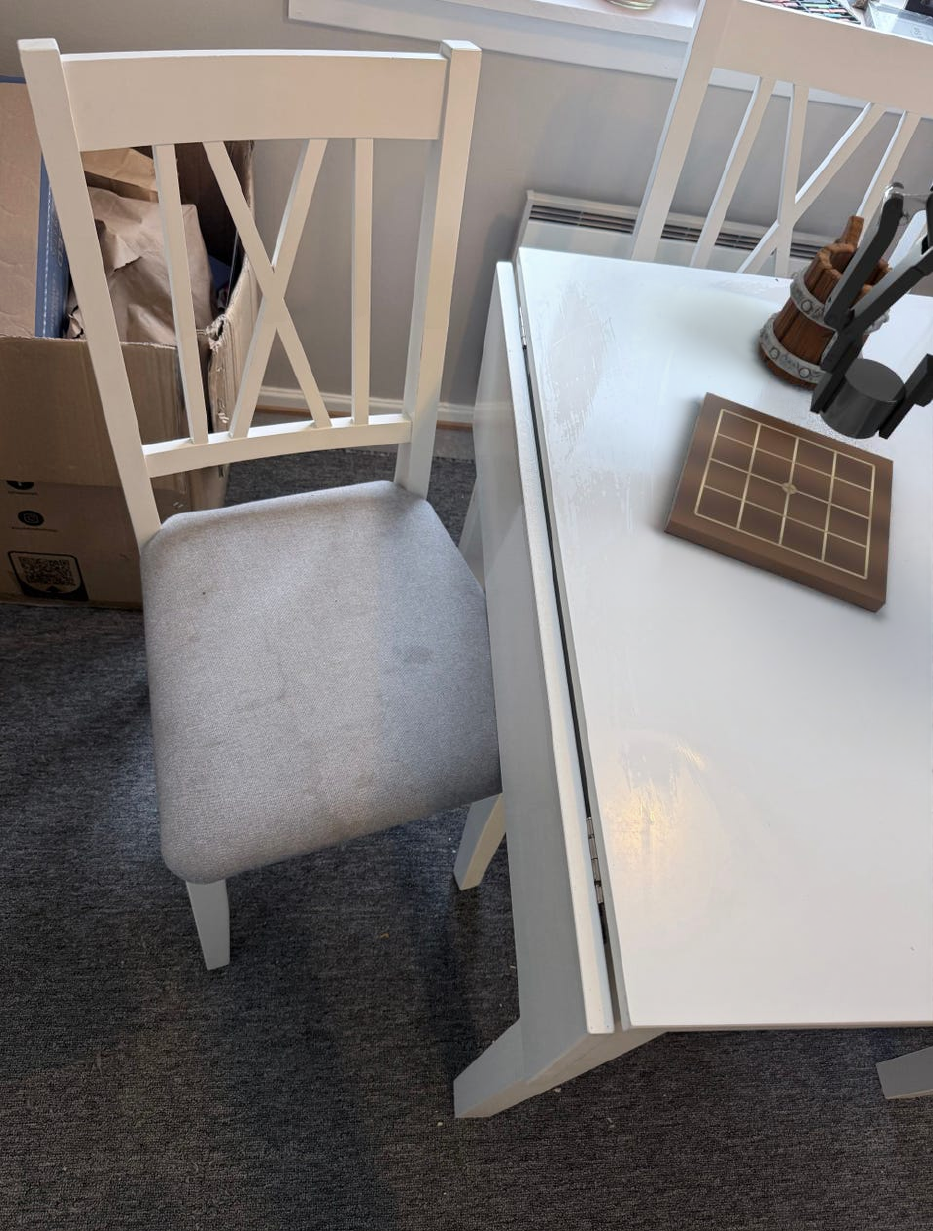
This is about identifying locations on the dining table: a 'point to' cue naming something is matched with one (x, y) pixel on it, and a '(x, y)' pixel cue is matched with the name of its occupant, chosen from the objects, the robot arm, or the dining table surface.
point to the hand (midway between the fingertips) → (849, 415)
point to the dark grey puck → (863, 399)
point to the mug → (814, 312)
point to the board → (786, 501)
